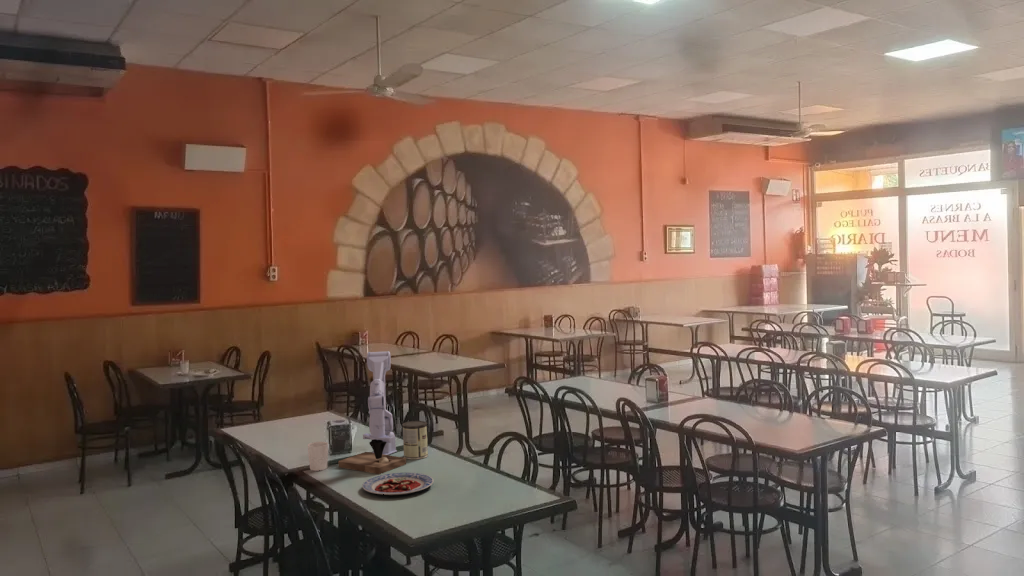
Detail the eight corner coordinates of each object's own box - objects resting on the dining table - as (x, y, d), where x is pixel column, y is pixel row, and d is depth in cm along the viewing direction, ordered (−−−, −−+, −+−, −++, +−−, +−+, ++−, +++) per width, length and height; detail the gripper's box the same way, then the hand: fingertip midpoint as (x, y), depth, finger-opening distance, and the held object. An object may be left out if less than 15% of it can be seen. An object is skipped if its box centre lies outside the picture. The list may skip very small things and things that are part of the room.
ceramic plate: (420, 501, 262) (420, 492, 262) (350, 498, 267) (350, 490, 267) (442, 479, 287) (442, 471, 287) (378, 477, 292) (377, 469, 292)
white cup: (325, 471, 302) (324, 446, 301) (306, 471, 302) (305, 446, 301) (330, 465, 309) (330, 441, 309) (311, 466, 310) (310, 441, 309)
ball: (389, 468, 305) (382, 464, 307) (392, 458, 305) (384, 455, 307) (382, 469, 302) (375, 465, 304) (385, 460, 302) (378, 456, 304)
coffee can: (406, 453, 326) (405, 420, 325) (430, 453, 325) (429, 420, 324) (400, 459, 315) (399, 426, 315) (425, 459, 314) (423, 426, 314)
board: (365, 457, 320) (365, 451, 320) (406, 464, 309) (406, 457, 308) (338, 467, 307) (338, 461, 307) (379, 474, 295) (379, 467, 295)
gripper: (357, 425, 305) (358, 458, 306) (384, 428, 298) (385, 462, 298) (369, 421, 311) (370, 454, 312) (396, 425, 304) (397, 458, 304)
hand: (378, 458), depth 306 cm, fingers closed
